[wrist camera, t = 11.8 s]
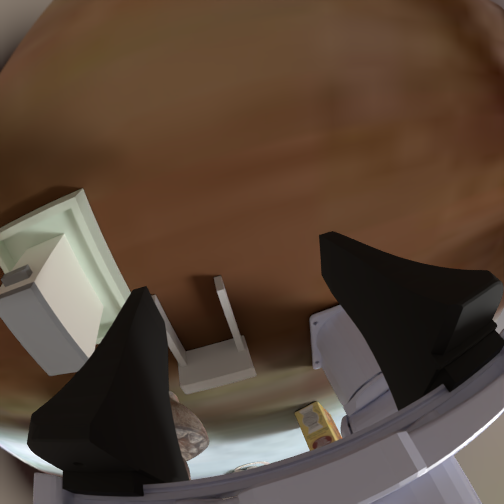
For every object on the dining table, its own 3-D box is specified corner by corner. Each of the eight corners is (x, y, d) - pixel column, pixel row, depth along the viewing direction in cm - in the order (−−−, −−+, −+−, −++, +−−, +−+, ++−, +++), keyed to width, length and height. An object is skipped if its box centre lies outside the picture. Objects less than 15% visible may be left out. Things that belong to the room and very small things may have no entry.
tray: (144, 318, 24) (144, 332, 22) (64, 338, 23) (60, 352, 21) (82, 188, 17) (75, 196, 16) (-4, 229, 16) (-14, 240, 15)
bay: (246, 344, 28) (256, 375, 25) (182, 362, 27) (185, 394, 24) (224, 274, 23) (233, 306, 20) (145, 297, 23) (143, 331, 19)
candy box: (292, 412, 39) (327, 498, 26) (317, 399, 38) (357, 485, 25) (311, 425, 43) (342, 497, 30) (332, 414, 43) (367, 485, 30)
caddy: (103, 306, 21) (91, 369, 16) (67, 316, 21) (49, 375, 15) (61, 226, 17) (25, 279, 12) (23, 242, 17) (-15, 294, 11)
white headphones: (229, 473, 52) (233, 488, 48) (231, 464, 48) (235, 480, 44) (266, 467, 54) (271, 481, 50) (271, 457, 50) (277, 473, 47)
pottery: (66, 431, 31) (62, 496, 21) (136, 358, 26) (137, 469, 16) (127, 451, 37) (131, 512, 27) (220, 391, 32) (242, 482, 22)
